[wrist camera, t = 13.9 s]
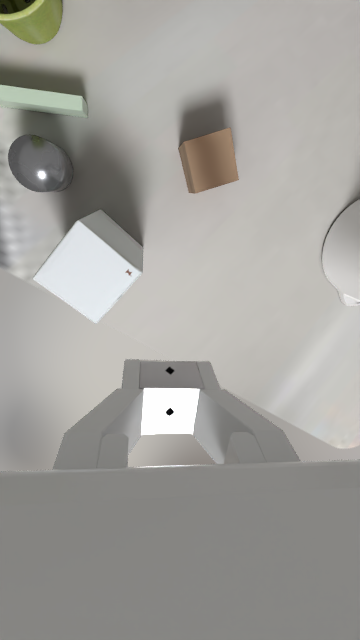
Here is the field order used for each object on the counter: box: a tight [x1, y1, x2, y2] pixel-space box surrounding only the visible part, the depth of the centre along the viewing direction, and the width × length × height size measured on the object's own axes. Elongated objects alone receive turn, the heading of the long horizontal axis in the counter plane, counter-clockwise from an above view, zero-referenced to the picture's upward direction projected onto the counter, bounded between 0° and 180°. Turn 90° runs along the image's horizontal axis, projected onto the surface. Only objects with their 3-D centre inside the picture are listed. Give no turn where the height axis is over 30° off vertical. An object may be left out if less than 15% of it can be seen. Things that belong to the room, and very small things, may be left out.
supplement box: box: [33, 209, 143, 323], centre depth 31 cm, size 7×7×13 cm
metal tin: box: [8, 135, 73, 192], centre depth 30 cm, size 5×5×5 cm
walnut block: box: [178, 128, 239, 193], centre depth 31 cm, size 5×5×5 cm
